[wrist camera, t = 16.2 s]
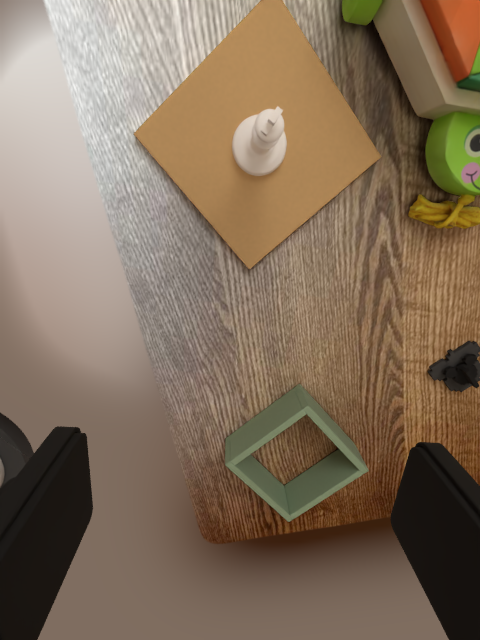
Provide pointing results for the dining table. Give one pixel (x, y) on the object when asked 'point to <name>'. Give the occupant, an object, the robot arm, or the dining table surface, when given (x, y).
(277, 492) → the square frame
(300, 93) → the plate
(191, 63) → the dining table surface
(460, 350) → the block figure
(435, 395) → the dining table surface
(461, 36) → the toy wagon
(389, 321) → the dining table surface
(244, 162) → the chess piece
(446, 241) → the dining table surface
